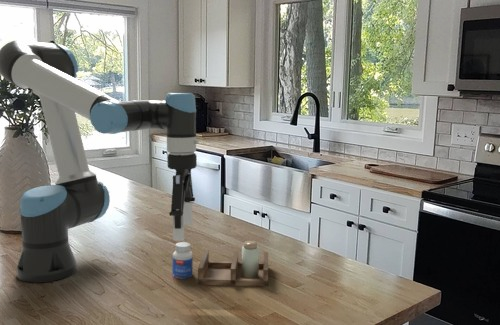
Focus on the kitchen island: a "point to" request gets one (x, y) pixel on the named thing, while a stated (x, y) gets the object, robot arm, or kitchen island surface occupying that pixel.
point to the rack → (229, 272)
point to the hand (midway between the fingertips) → (183, 232)
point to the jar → (250, 260)
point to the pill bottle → (182, 261)
